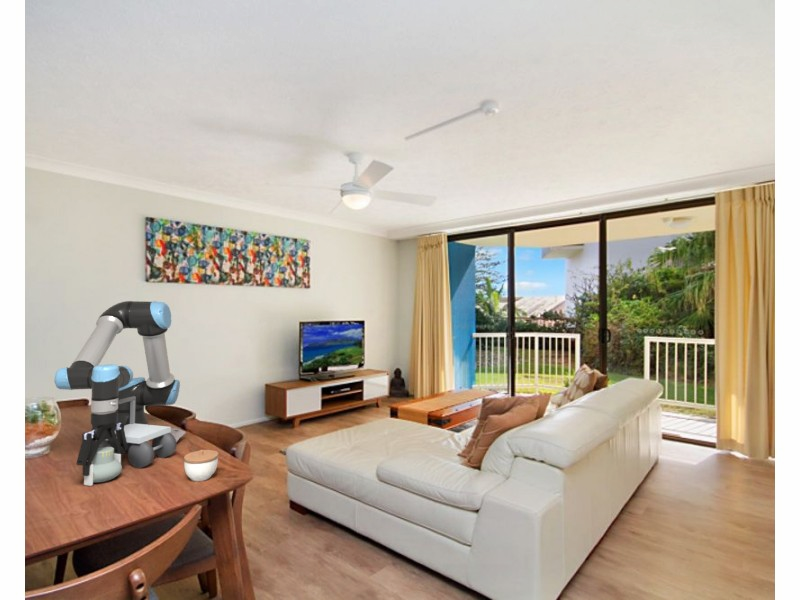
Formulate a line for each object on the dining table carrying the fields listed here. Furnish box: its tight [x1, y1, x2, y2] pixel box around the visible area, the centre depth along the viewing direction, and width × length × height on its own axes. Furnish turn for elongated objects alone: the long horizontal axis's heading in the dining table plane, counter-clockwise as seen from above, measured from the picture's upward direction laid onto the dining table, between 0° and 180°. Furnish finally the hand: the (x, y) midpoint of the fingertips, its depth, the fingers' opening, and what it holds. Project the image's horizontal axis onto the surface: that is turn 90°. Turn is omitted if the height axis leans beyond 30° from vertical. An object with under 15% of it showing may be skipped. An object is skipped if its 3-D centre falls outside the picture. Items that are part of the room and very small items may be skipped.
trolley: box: [98, 396, 177, 469], centre depth 163 cm, size 15×25×22 cm, turn 77°
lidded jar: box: [183, 449, 220, 482], centre depth 147 cm, size 11×11×9 cm
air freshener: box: [91, 447, 123, 484], centre depth 144 cm, size 11×8×10 cm
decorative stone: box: [152, 427, 187, 443], centre depth 184 cm, size 13×10×6 cm
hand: (102, 478), depth 144 cm, fingers closed on air freshener, 10 cm apart
